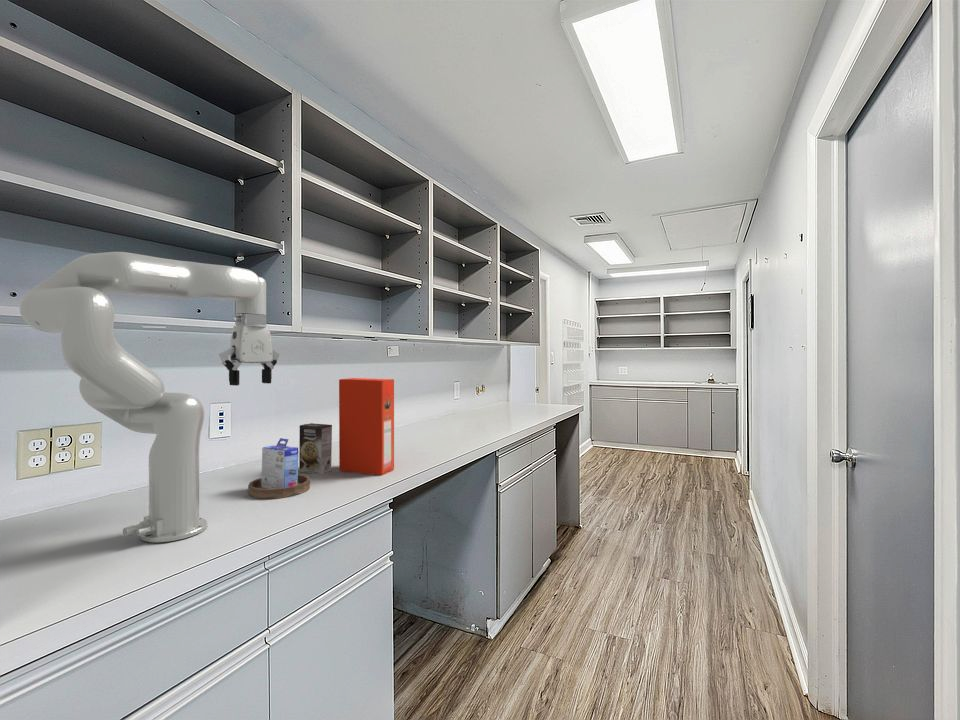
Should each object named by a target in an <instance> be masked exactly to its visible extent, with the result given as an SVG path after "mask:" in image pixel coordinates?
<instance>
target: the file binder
mask: <svg viewBox="0 0 960 720" xmlns="http://www.w3.org/2000/svg"><path fill="white" fill-rule="evenodd" d="M338 391H339V392H338V417H339V418H338V424H339V425H338V426H339V427H338V428H339V430H338V431H339V432H338V433H339V434H338V440H339V441H338V442H339V443H338V445H339V448H338V449H339V451H338V452H339V453H338V455H339V457H338V459H339V464H338V466H339V469H338V470H339V471H342V472H350V473H359V474H366V475H374V476H375V475H376V476H384V475H386V474H388V473H390V472H393V471H394V470H395V379H394V378H393V379H391V378H365V377H364V378H362V377H361V378H360V377H359V378H357V377H349V378H341V379H338Z"/></svg>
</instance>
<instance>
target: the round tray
mask: <svg viewBox="0 0 960 720" xmlns="http://www.w3.org/2000/svg"><path fill="white" fill-rule="evenodd" d="M261 479H262V477H259V478H256V479H253V480H252V481H250V482H249V483H248V486H247V488H248V490H247V491H248V495H249V496H250V497H251V498H255V499H260V500H262V499H263V500H274V499H275V500H276V499H284V498H290V497H294V496H298V495H302V494H304V493H306V492H307V491H309V490H310V489H311V487H310V486H311V477H310V476H308V475H305V474H300V473H298V485H296V486H292V487H286V488H278V489H267V488H262V487H261Z"/></svg>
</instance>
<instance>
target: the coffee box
mask: <svg viewBox="0 0 960 720" xmlns="http://www.w3.org/2000/svg"><path fill="white" fill-rule="evenodd" d="M298 444H299V446H298V473H299V472H301V473H309V474H316V475H318V474H319V475H321V474H324V473H327V472H329V471H332V452H333V451H332V448H333V447H332V444H333V425H332V424H328V423H327V424H326V423H325V424H323V423H312V422H311V423H304V424H300V425H299V443H298Z"/></svg>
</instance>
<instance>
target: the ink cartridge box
mask: <svg viewBox="0 0 960 720" xmlns="http://www.w3.org/2000/svg"><path fill="white" fill-rule="evenodd" d="M282 442H285V443H282ZM288 442H289V439H288V438H282V437H281V438H279V440H278V442H277V444H276V445H275V444H274V445H268V446H264V447H262V449H261V450H262V451H261V459H262V460H261V478H262V479H261V487H262V488H267V489H278V488H286V487H292V486H296V485H298V474H299V446H298V447H297V446H287V445H288Z"/></svg>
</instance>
